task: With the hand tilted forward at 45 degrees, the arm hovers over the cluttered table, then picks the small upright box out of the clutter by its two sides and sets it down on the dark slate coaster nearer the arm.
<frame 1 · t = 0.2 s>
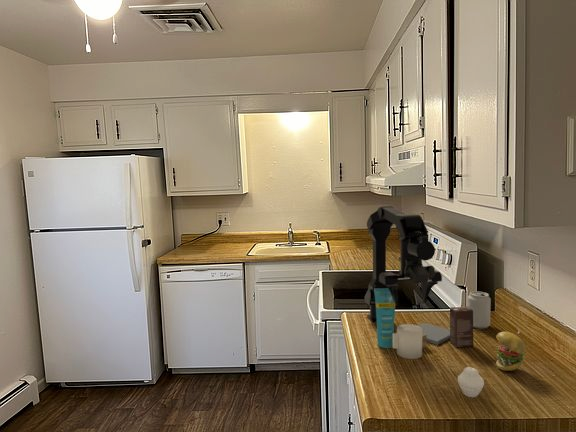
hand: (410, 303, 130), 15 cm above the worktop, tool pointing down, fingers open, 9 cm apart
white tapered cup: (409, 353, 128), on the worktop
coaster: (430, 334, 142), on the worktop
can: (478, 326, 149), on the worktop
tube: (385, 346, 134), on the worktop
hamburger: (509, 370, 116), on the worktop
box: (461, 345, 133), on the worktop
walnut block: (417, 345, 133), on the worktop
muffin: (470, 394, 104), on the worktop
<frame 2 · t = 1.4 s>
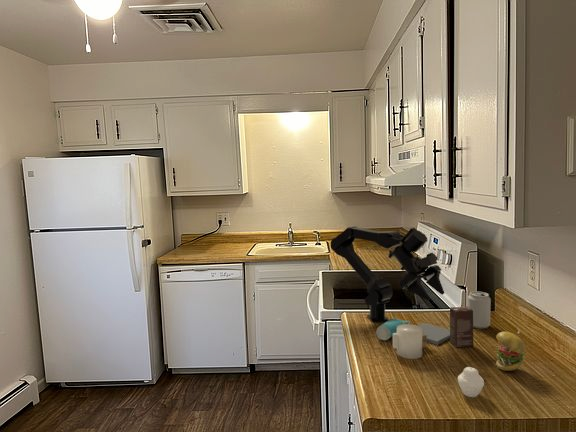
hand: (436, 296, 139), 14 cm above the worktop, tool tilted 45°, fingers open, 9 cm apart
tube: (383, 333, 137), point 3 cm above the worktop
everything else where it was.
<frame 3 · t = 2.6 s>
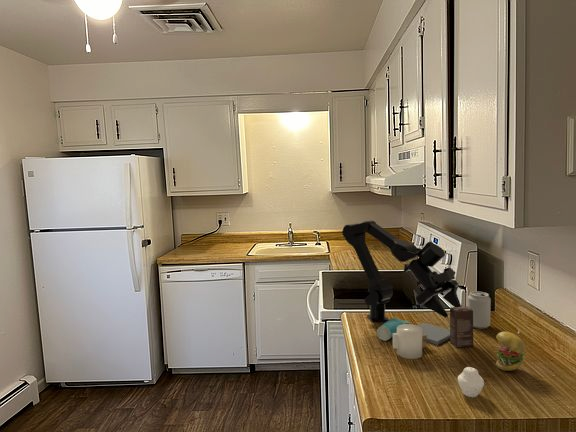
hand: (454, 313, 134), 10 cm above the worktop, tool tilted 45°, fingers open, 9 cm apart
nothing on the worktop moved.
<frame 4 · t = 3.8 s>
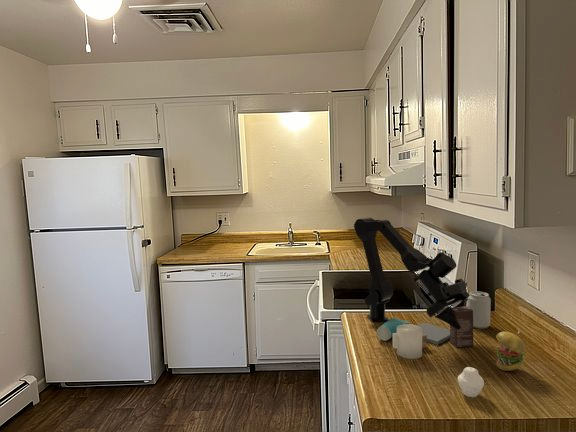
hand: (465, 325, 132), 7 cm above the worktop, tool tilted 45°, fingers closed on box, 7 cm apart
box: (461, 345, 133), on the worktop, touching gripper
everything else where it was.
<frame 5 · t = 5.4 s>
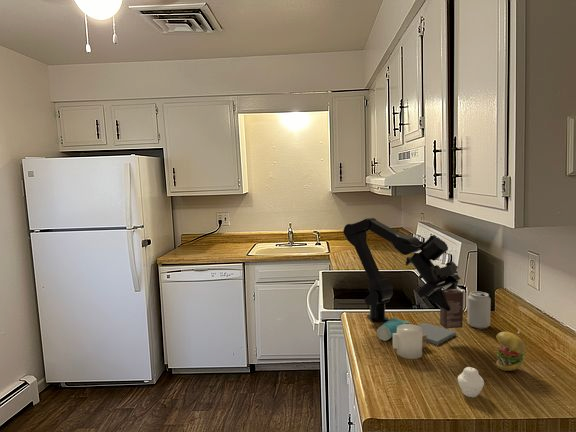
hand: (455, 307, 134), 12 cm above the worktop, tool tilted 45°, fingers closed on box, 7 cm apart
box: (450, 326, 136), point 5 cm above the worktop, touching gripper
everything else where it was.
when the fingers open (9 cm above the worktop, at t = 7.0 s): box drops 1 cm, resting on coaster.
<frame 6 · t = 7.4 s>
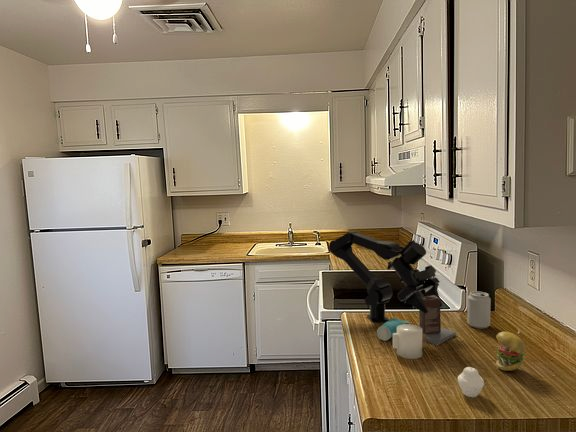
hand: (434, 309, 140), 9 cm above the worktop, tool tilted 45°, fingers open, 9 cm apart
box: (429, 331, 142), point 1 cm above the worktop, touching coaster
everything else where it was.
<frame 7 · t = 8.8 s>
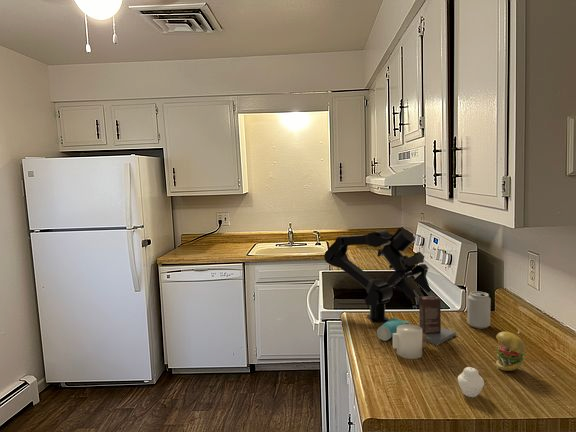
hand: (422, 294, 143), 14 cm above the worktop, tool tilted 45°, fingers open, 9 cm apart
nothing on the worktop moved.
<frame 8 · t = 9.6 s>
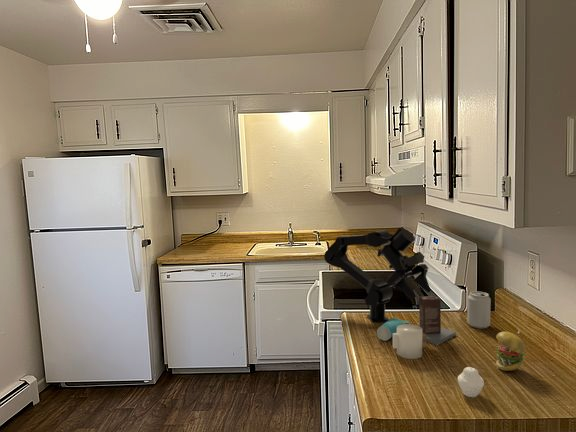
hand: (422, 294, 143), 14 cm above the worktop, tool tilted 45°, fingers open, 9 cm apart
nothing on the worktop moved.
at the end: box inside the target area on the coaster (0.1 cm from its centre), point 1.0 cm above the coaster's base; box tilted 0°; the gripper is holding nothing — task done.
